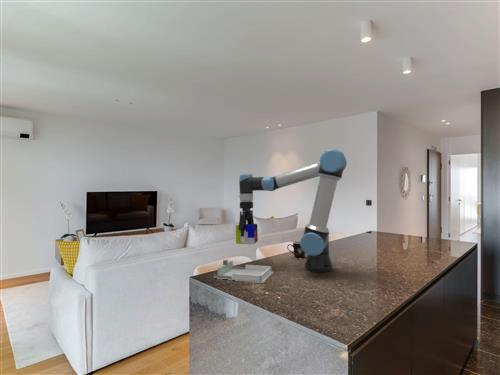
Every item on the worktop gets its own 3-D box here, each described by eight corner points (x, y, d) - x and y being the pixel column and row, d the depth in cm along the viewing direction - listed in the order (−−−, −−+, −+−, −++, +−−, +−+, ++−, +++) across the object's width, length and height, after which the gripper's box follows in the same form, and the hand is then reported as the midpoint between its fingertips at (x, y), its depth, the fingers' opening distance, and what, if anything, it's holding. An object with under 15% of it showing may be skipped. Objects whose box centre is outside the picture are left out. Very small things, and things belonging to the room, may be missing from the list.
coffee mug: (308, 257, 186) (308, 242, 186) (303, 260, 179) (303, 244, 179) (292, 255, 192) (291, 240, 192) (286, 258, 185) (286, 242, 185)
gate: (233, 268, 155) (233, 257, 156) (220, 276, 140) (220, 264, 140) (229, 267, 156) (229, 257, 156) (216, 275, 140) (216, 263, 141)
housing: (273, 272, 149) (273, 266, 149) (263, 283, 131) (263, 276, 131) (229, 269, 157) (229, 263, 158) (213, 278, 140) (213, 271, 140)
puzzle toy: (253, 244, 153) (253, 225, 153) (236, 243, 155) (235, 225, 156) (257, 241, 163) (257, 223, 163) (240, 241, 165) (240, 223, 165)
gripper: (247, 201, 172) (248, 237, 171) (231, 201, 150) (232, 243, 150) (259, 200, 169) (260, 238, 168) (244, 201, 148) (245, 244, 147)
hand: (247, 240), depth 159 cm, fingers closed on puzzle toy, 10 cm apart
